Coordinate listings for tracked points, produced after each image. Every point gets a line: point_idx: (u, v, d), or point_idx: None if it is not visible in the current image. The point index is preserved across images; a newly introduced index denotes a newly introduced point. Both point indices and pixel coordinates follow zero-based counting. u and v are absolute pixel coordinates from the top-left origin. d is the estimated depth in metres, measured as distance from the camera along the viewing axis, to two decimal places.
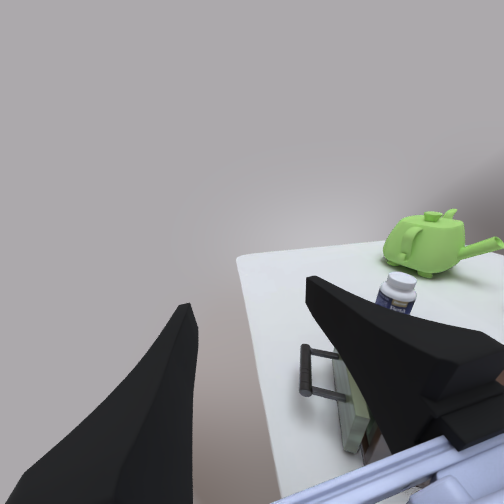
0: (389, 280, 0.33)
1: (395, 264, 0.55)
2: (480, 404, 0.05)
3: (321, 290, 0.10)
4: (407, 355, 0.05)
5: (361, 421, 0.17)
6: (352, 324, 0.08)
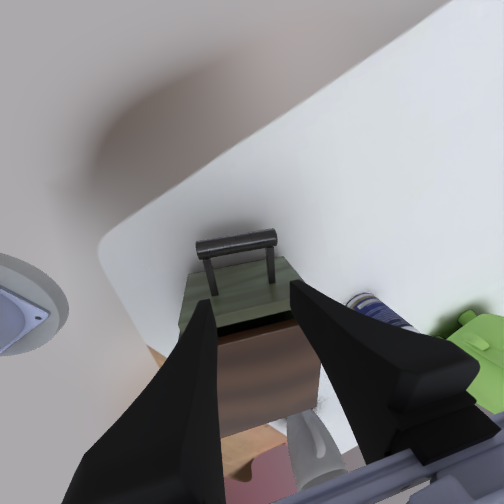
0: None
1: (462, 319, 0.36)
2: (448, 416, 0.05)
3: (302, 294, 0.10)
4: (375, 365, 0.05)
5: None
6: (329, 330, 0.08)
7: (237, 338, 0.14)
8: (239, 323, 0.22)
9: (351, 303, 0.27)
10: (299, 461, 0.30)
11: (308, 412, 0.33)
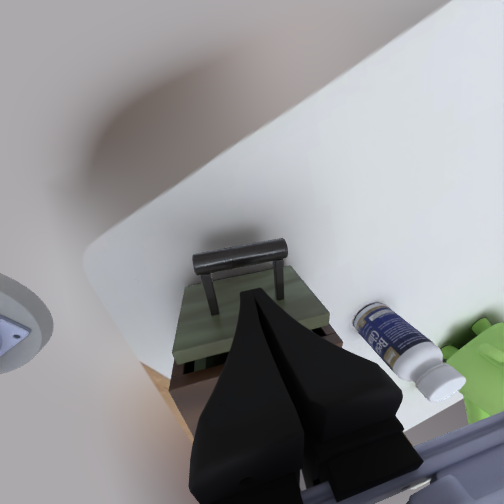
0: (443, 372, 0.17)
1: (476, 328, 0.34)
2: (371, 445, 0.05)
3: (257, 305, 0.09)
4: (298, 389, 0.05)
5: None
6: (274, 345, 0.07)
7: None
8: None
9: (361, 313, 0.25)
10: None
11: None
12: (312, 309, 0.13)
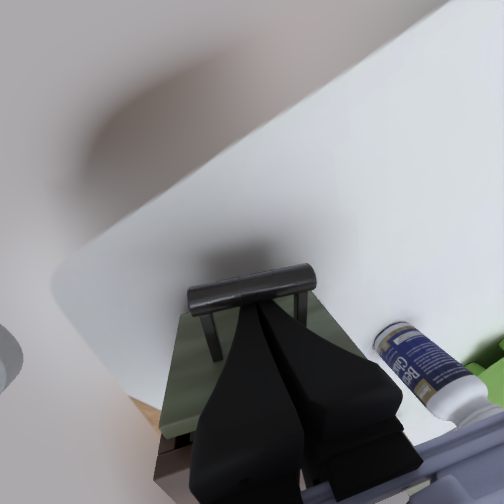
0: None
1: None
2: (371, 446, 0.05)
3: (257, 305, 0.09)
4: (298, 389, 0.05)
5: None
6: (274, 345, 0.07)
7: None
8: None
9: (384, 334, 0.22)
10: None
11: None
12: None
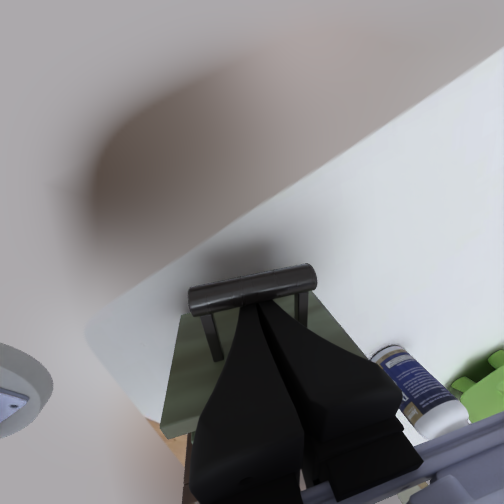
0: None
1: (492, 360, 0.32)
2: (371, 445, 0.05)
3: (257, 305, 0.09)
4: (298, 389, 0.05)
5: None
6: (274, 345, 0.07)
7: None
8: None
9: (377, 357, 0.23)
10: None
11: None
12: None
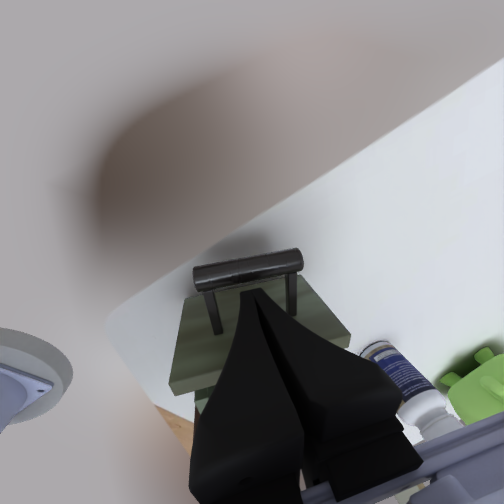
0: (447, 424, 0.18)
1: (478, 356, 0.34)
2: (371, 446, 0.05)
3: (257, 305, 0.09)
4: (298, 389, 0.05)
5: None
6: (274, 345, 0.07)
7: None
8: None
9: (366, 352, 0.25)
10: None
11: None
12: (330, 329, 0.11)
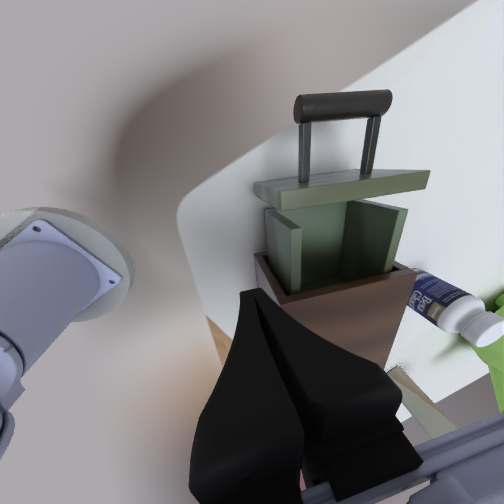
0: (490, 317, 0.19)
1: (500, 300, 0.36)
2: (371, 445, 0.05)
3: (257, 305, 0.09)
4: (298, 389, 0.05)
5: (276, 199, 0.11)
6: (274, 345, 0.07)
7: (335, 289, 0.14)
8: (302, 251, 0.19)
9: None
10: None
11: None
12: (409, 171, 0.12)
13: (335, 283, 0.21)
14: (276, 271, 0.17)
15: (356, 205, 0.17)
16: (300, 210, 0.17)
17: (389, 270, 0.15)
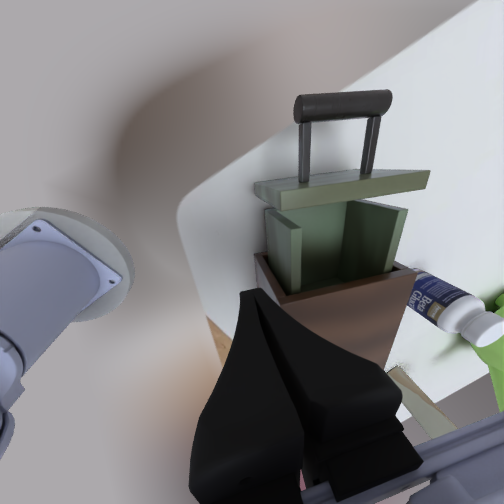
0: (490, 317, 0.19)
1: (500, 300, 0.36)
2: (371, 445, 0.05)
3: (257, 305, 0.09)
4: (298, 389, 0.05)
5: (276, 199, 0.11)
6: (274, 345, 0.07)
7: (335, 289, 0.14)
8: (302, 251, 0.19)
9: None
10: None
11: None
12: (409, 171, 0.12)
13: (335, 283, 0.21)
14: (276, 271, 0.17)
15: (356, 205, 0.17)
16: (300, 210, 0.17)
17: (389, 270, 0.15)
